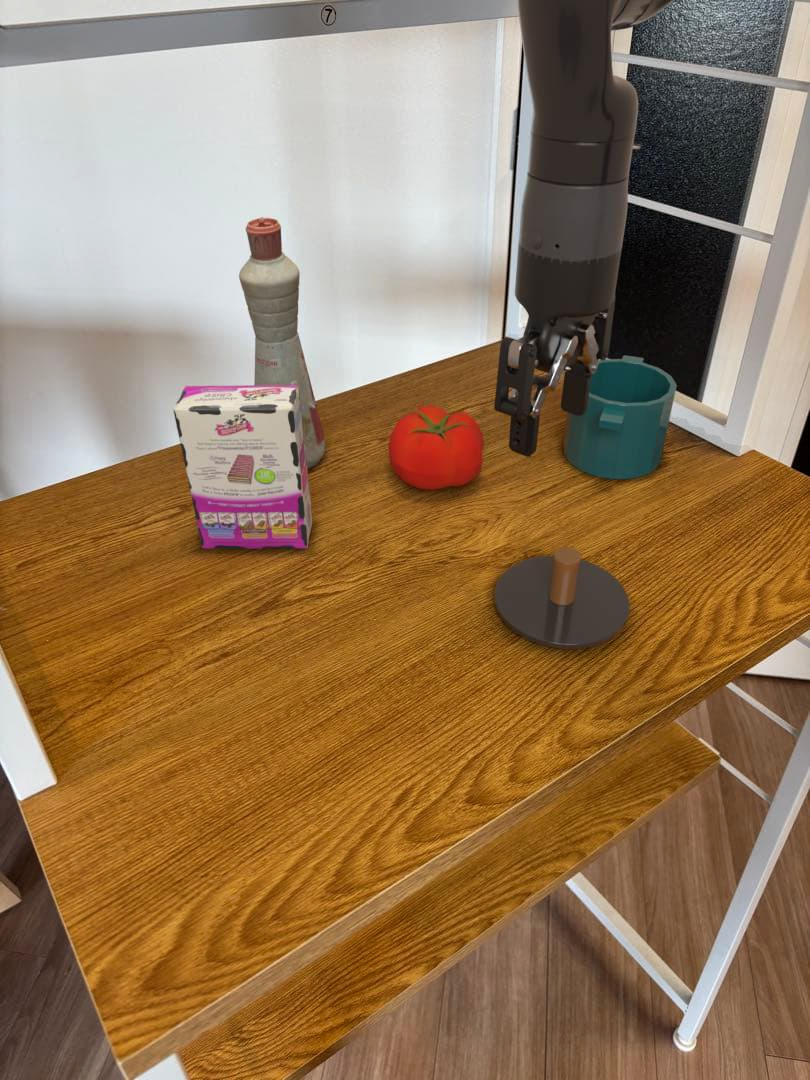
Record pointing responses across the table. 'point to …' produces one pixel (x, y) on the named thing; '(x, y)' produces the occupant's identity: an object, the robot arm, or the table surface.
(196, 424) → the candy bar box
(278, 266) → the bottle
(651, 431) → the pot
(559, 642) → the lid
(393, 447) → the tomato
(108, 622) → the table surface
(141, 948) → the table surface
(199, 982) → the table surface
